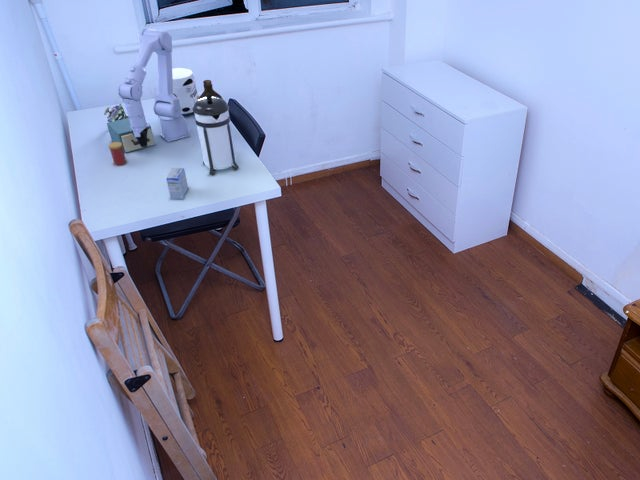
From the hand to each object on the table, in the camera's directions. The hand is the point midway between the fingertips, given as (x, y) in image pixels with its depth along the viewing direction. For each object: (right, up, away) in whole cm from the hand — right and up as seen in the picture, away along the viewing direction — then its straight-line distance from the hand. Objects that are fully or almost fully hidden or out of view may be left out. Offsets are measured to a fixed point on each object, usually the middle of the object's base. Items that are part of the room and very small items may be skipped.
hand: (144, 146), depth 221 cm
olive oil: (+23, +6, +17) cm, 30 cm away
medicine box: (+23, -21, -21) cm, 38 cm away
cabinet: (-9, +3, +10) cm, 14 cm away
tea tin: (-8, -7, -4) cm, 11 cm away
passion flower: (-21, +13, +24) cm, 34 cm away
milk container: (0, +23, +39) cm, 46 cm away
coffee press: (+31, -8, -3) cm, 32 cm away
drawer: (-7, +2, +7) cm, 10 cm away
